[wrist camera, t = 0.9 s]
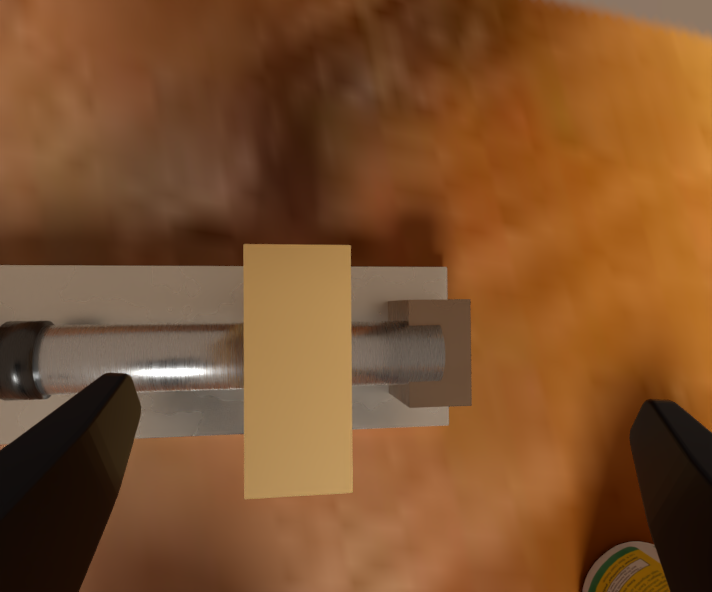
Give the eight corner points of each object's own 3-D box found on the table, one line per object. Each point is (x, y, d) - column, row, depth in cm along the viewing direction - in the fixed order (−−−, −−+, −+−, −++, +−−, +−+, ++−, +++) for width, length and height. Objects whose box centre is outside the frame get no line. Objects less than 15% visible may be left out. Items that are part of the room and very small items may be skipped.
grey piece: (442, 267, 25) (484, 258, 20) (444, 422, 25) (487, 450, 20) (-154, 265, 21) (-281, 252, 16) (-157, 447, 21) (-285, 489, 16)
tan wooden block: (324, 266, 23) (351, 245, 16) (325, 431, 23) (352, 492, 15) (252, 265, 23) (243, 244, 15) (252, 434, 23) (244, 498, 15)
